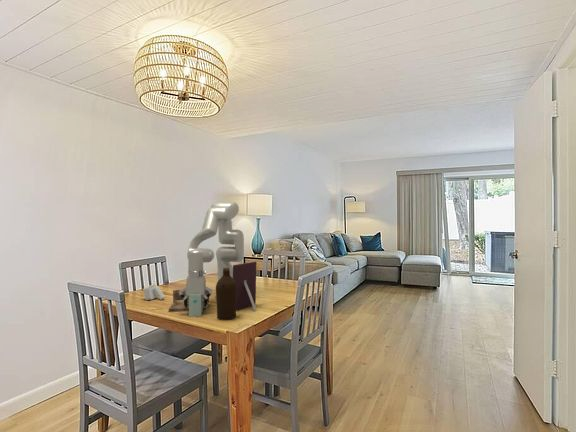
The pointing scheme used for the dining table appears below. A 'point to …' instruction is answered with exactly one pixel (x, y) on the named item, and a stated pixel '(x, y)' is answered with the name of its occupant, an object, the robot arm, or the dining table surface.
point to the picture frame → (245, 285)
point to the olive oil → (226, 296)
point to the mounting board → (179, 302)
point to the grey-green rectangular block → (195, 305)
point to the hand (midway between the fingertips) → (195, 306)
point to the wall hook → (153, 292)
